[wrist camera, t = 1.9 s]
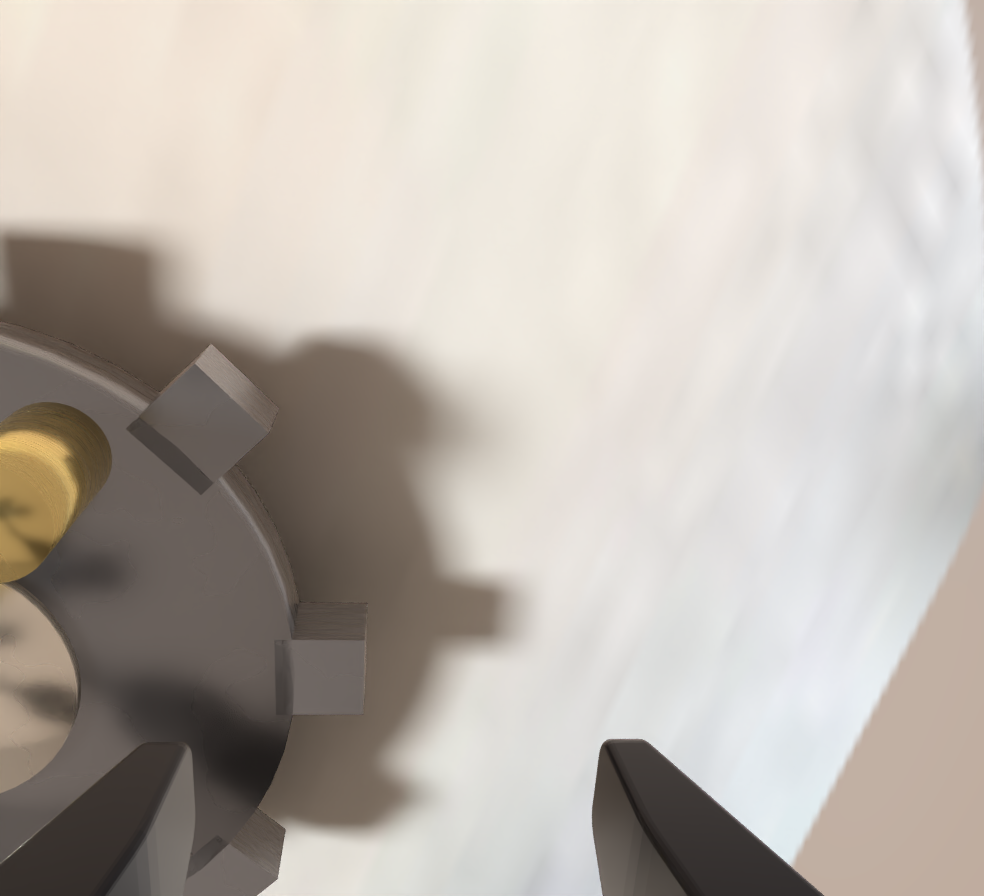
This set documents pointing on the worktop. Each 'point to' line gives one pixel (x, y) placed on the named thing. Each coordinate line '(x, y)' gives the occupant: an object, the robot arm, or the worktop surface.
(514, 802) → the worktop surface
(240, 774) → the sprocket
